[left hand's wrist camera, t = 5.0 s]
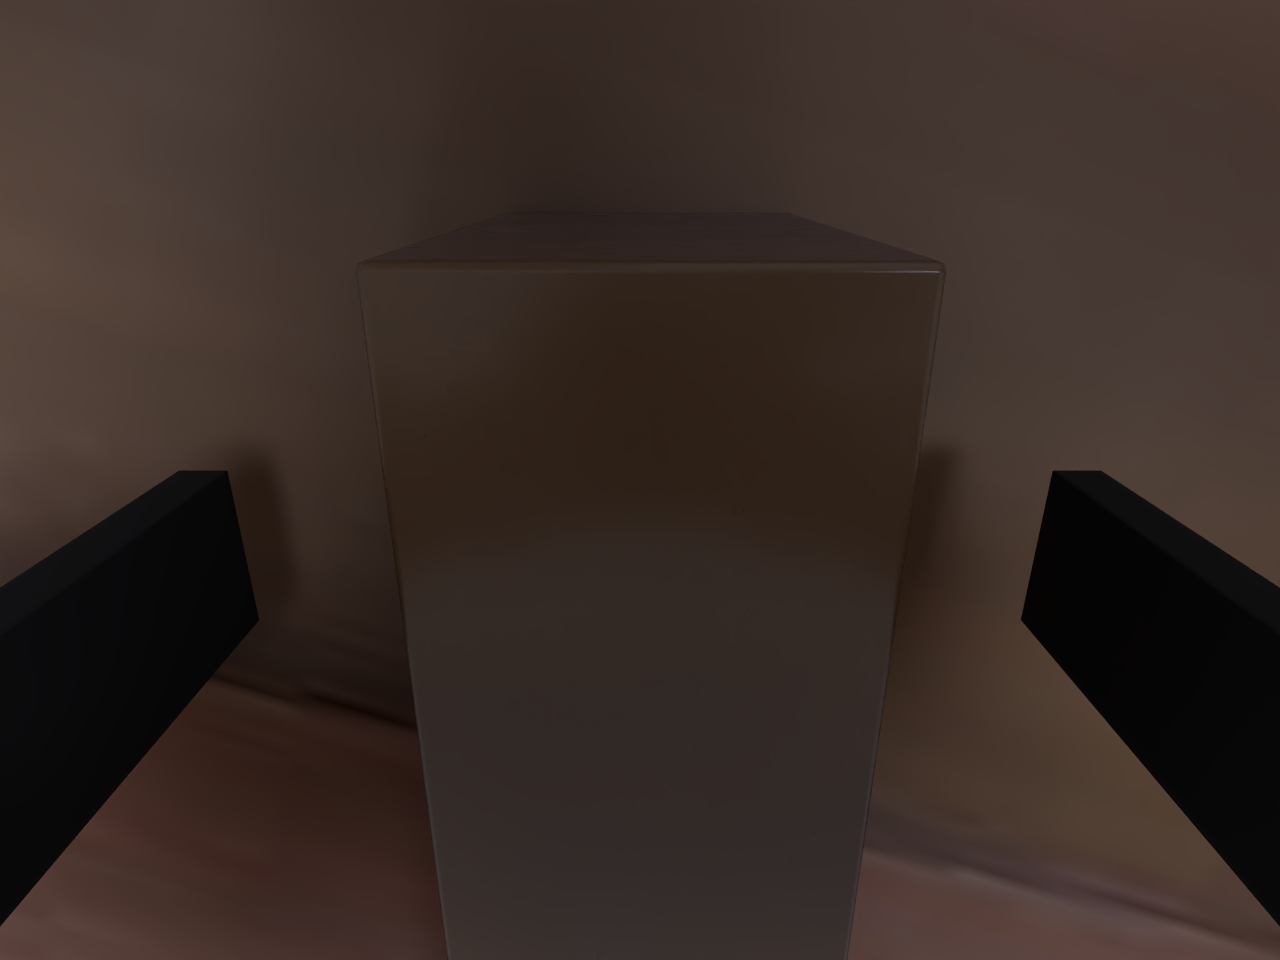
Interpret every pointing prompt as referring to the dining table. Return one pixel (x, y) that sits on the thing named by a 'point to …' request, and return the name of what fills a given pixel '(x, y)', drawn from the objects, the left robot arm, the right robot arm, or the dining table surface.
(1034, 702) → the dining table surface
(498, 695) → the post
